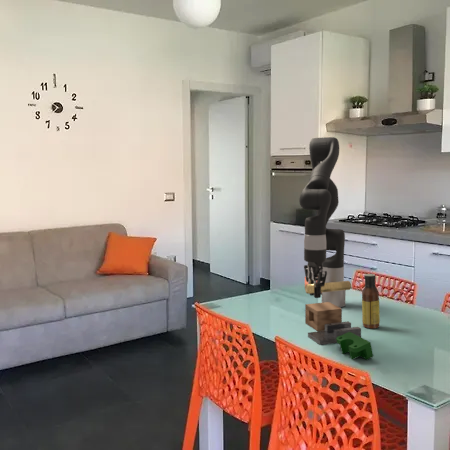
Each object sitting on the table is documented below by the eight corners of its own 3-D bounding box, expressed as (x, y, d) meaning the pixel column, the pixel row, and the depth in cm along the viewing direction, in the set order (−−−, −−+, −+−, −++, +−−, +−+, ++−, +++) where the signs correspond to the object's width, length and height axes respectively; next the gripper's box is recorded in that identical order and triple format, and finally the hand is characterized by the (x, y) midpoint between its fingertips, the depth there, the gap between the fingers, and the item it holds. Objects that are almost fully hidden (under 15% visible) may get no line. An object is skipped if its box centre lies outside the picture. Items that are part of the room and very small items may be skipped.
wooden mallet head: (328, 320, 203) (328, 301, 202) (341, 328, 194) (341, 308, 193) (305, 323, 200) (305, 304, 199) (317, 331, 191) (317, 311, 190)
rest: (347, 331, 189) (348, 321, 189) (361, 339, 181) (361, 328, 180) (307, 336, 185) (307, 325, 184) (319, 345, 176) (319, 333, 176)
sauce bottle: (380, 325, 197) (380, 273, 194) (379, 330, 191) (380, 276, 189) (362, 323, 199) (362, 272, 197) (360, 328, 193) (361, 275, 191)
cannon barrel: (346, 288, 186) (346, 279, 185) (350, 290, 183) (351, 282, 182) (304, 292, 181) (305, 283, 181) (308, 294, 178) (309, 285, 178)
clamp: (343, 365, 170) (332, 338, 172) (358, 358, 172) (347, 332, 173) (360, 364, 159) (348, 335, 160) (376, 356, 161) (364, 328, 162)
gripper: (334, 249, 173) (334, 300, 175) (316, 243, 186) (315, 291, 188) (314, 251, 171) (313, 302, 173) (296, 245, 184) (296, 292, 186)
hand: (314, 296), depth 181 cm, fingers closed on cannon barrel, 3 cm apart
